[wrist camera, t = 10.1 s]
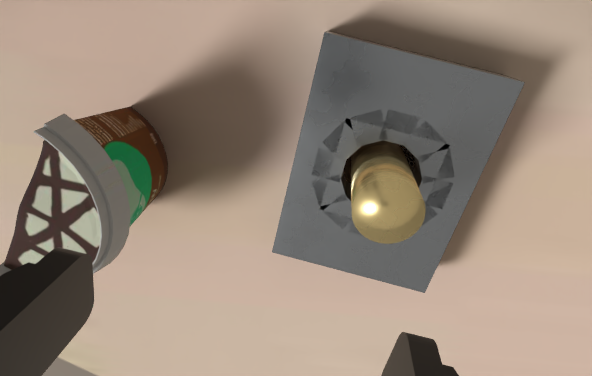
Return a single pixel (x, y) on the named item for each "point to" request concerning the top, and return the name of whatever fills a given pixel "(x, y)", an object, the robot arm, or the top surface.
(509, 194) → the top surface
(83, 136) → the food container
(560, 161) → the top surface
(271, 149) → the top surface
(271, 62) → the top surface
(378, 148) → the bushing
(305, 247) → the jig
